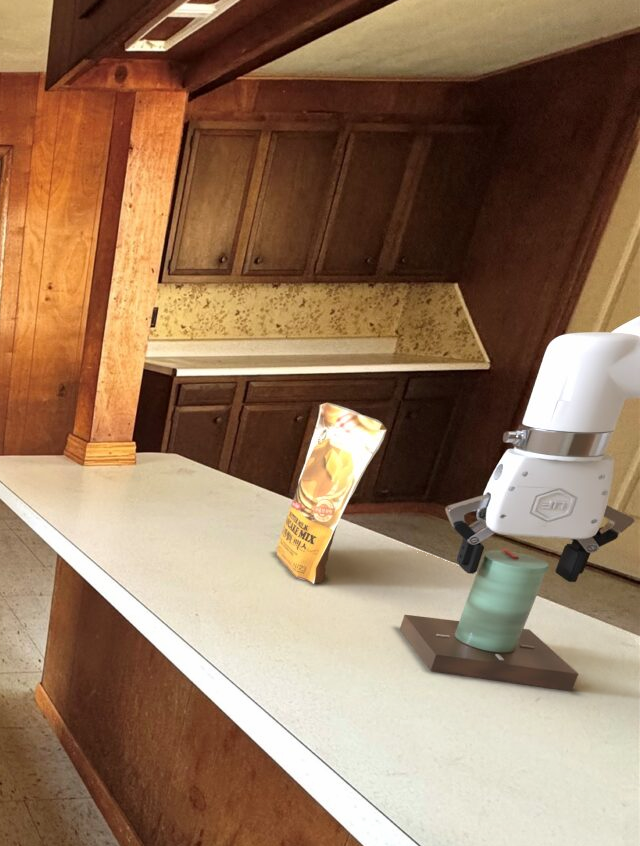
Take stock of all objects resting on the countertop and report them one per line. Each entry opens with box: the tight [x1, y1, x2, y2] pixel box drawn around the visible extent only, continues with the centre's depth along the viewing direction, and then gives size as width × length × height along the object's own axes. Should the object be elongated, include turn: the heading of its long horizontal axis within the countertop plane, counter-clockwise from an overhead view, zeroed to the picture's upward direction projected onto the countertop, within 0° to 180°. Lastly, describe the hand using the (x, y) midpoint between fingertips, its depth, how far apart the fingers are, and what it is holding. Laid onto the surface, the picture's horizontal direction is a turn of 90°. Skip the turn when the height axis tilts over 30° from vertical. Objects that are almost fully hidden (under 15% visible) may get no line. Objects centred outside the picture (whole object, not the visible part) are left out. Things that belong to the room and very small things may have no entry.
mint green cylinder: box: [455, 548, 550, 653], centre depth 86 cm, size 6×6×12 cm
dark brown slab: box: [399, 614, 579, 692], centre depth 89 cm, size 14×12×3 cm
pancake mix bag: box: [276, 402, 388, 585], centre depth 113 cm, size 7×19×28 cm, turn 164°
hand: (514, 573), depth 85 cm, fingers open, 9 cm apart
